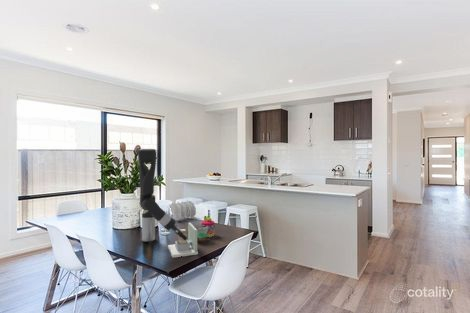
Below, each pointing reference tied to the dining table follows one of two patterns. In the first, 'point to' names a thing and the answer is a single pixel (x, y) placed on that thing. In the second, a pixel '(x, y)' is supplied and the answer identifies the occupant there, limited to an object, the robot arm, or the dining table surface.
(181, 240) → the rail post
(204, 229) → the food container
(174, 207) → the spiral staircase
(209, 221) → the cake
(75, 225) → the dining table surface
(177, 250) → the cup bracket
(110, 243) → the dining table surface
